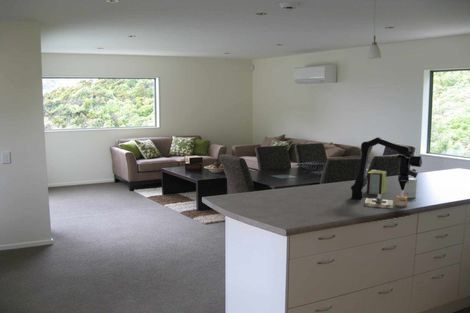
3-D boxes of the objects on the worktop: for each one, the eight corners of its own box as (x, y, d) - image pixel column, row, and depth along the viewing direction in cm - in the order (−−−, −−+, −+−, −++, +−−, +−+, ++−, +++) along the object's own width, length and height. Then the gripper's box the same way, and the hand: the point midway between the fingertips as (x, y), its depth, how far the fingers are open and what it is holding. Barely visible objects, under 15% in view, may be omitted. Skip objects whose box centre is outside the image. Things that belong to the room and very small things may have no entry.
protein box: (385, 191, 362) (386, 170, 360) (381, 195, 349) (382, 173, 347) (370, 190, 367) (372, 169, 365) (366, 193, 354) (367, 172, 351)
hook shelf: (364, 205, 316) (365, 197, 315) (365, 200, 330) (366, 192, 329) (392, 208, 311) (393, 199, 310) (392, 203, 325) (393, 195, 324)
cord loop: (396, 205, 319) (397, 190, 318) (396, 204, 322) (397, 189, 321) (406, 206, 317) (407, 191, 316) (406, 205, 320) (407, 190, 319)
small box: (411, 195, 349) (413, 177, 348) (415, 197, 343) (417, 179, 341) (400, 195, 348) (401, 177, 347) (404, 197, 342) (405, 179, 340)
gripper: (418, 168, 305) (416, 193, 307) (416, 164, 323) (415, 187, 325) (399, 167, 308) (397, 191, 311) (398, 162, 326) (397, 186, 328)
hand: (402, 189), depth 318 cm, fingers open, 9 cm apart
